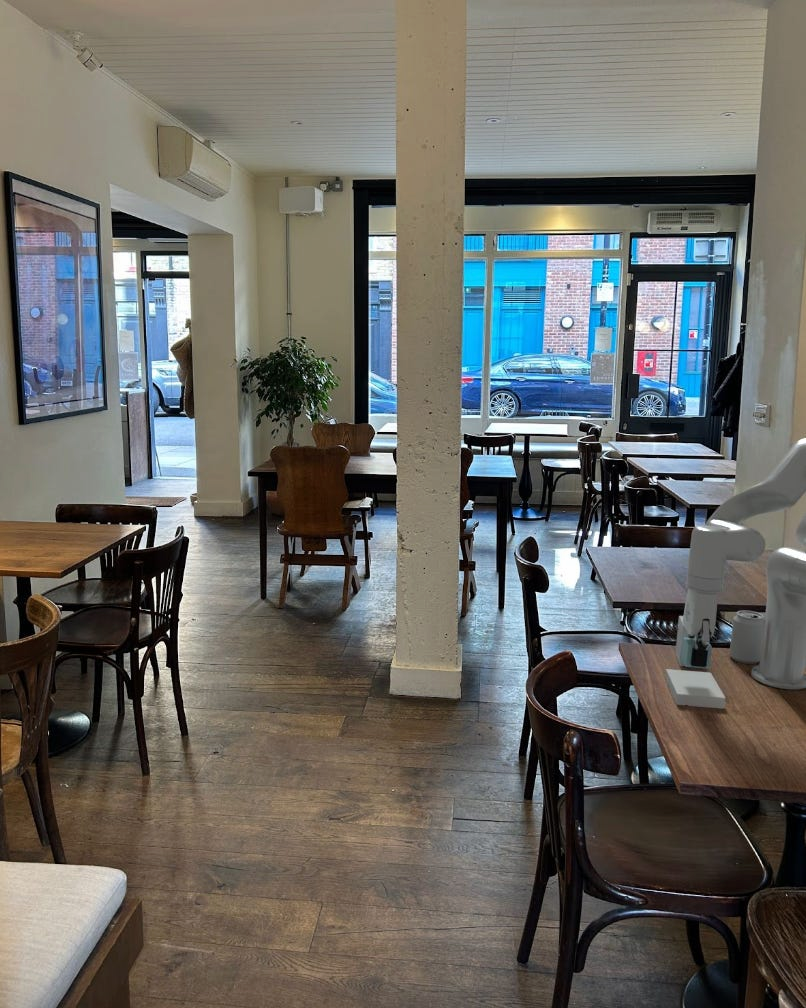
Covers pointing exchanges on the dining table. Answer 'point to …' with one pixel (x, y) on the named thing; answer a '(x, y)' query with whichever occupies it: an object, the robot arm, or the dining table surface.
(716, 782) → the dining table surface
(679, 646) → the small box
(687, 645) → the teal cube
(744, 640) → the can
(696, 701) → the plate
